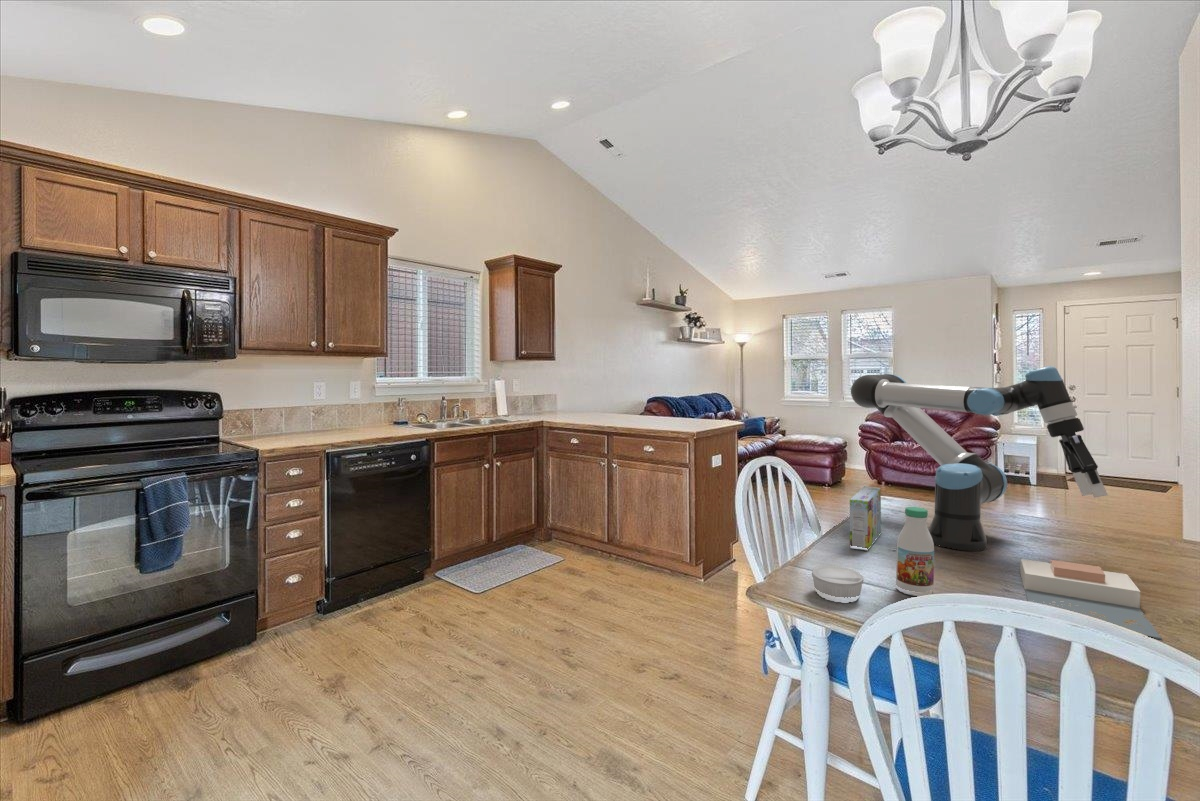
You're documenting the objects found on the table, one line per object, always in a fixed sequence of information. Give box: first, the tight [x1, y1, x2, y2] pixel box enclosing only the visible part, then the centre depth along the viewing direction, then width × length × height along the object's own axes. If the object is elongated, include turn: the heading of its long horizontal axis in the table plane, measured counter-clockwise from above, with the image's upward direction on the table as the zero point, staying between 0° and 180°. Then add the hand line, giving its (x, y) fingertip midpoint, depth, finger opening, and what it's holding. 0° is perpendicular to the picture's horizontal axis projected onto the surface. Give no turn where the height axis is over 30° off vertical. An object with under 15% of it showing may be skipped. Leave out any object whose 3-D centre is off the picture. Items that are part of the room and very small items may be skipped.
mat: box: [1024, 589, 1162, 640], centre depth 120 cm, size 20×16×1 cm
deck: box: [1019, 558, 1141, 609], centre depth 132 cm, size 20×12×4 cm, turn 57°
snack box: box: [849, 485, 882, 549], centre depth 170 cm, size 21×6×15 cm, turn 144°
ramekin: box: [811, 565, 865, 598], centre depth 130 cm, size 11×11×5 cm
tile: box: [1050, 559, 1105, 583], centre depth 131 cm, size 9×6×2 cm, turn 57°
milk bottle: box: [895, 506, 935, 592], centre depth 131 cm, size 8×8×20 cm
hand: (1094, 495), depth 150 cm, fingers open, 13 cm apart
